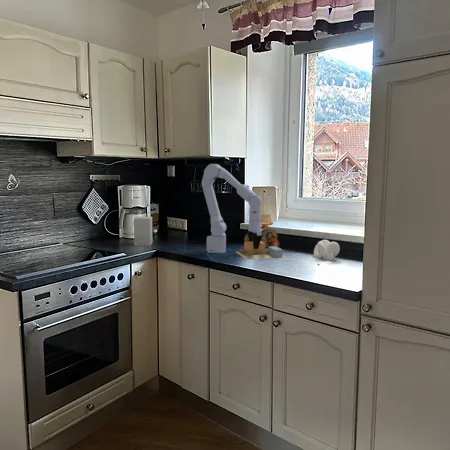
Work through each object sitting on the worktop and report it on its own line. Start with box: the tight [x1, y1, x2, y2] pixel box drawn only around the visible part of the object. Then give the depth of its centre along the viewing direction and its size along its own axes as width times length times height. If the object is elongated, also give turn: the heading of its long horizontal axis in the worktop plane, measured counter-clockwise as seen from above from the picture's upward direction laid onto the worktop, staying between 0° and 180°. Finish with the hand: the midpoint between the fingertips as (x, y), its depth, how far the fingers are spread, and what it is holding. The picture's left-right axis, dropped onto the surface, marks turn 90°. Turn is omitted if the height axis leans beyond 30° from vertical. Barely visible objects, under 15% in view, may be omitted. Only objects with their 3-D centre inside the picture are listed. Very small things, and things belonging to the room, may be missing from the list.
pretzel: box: [313, 239, 341, 262], centre depth 199 cm, size 11×12×9 cm
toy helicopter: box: [244, 222, 280, 249], centre depth 224 cm, size 8×21×14 cm, turn 123°
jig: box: [235, 248, 287, 260], centre depth 204 cm, size 20×17×2 cm
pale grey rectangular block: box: [267, 246, 284, 257], centre depth 203 cm, size 4×9×4 cm, turn 14°
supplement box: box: [133, 216, 153, 247], centre depth 231 cm, size 9×9×15 cm
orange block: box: [243, 241, 266, 252], centre depth 207 cm, size 9×5×4 cm, turn 104°
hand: (254, 247), depth 207 cm, fingers open, 5 cm apart
